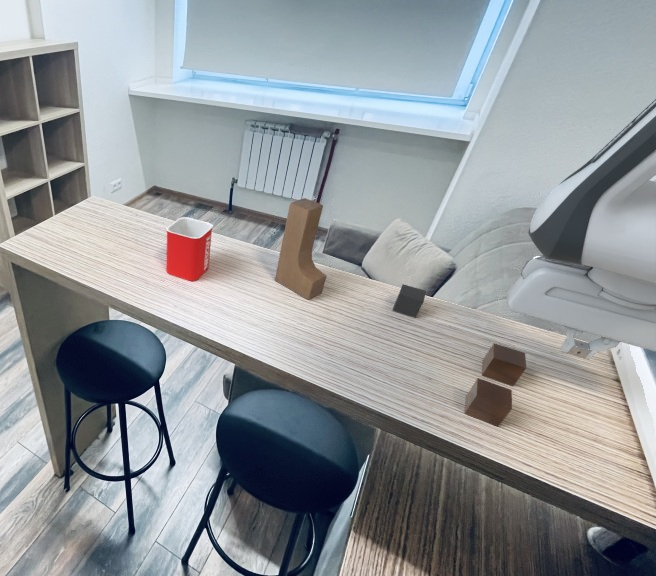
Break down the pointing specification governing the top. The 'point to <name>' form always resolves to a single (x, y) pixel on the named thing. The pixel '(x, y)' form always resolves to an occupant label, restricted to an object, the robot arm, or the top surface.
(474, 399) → the near cube
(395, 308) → the cube
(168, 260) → the mug
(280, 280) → the wooden block
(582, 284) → the robot arm
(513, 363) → the middle cube
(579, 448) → the top surface
